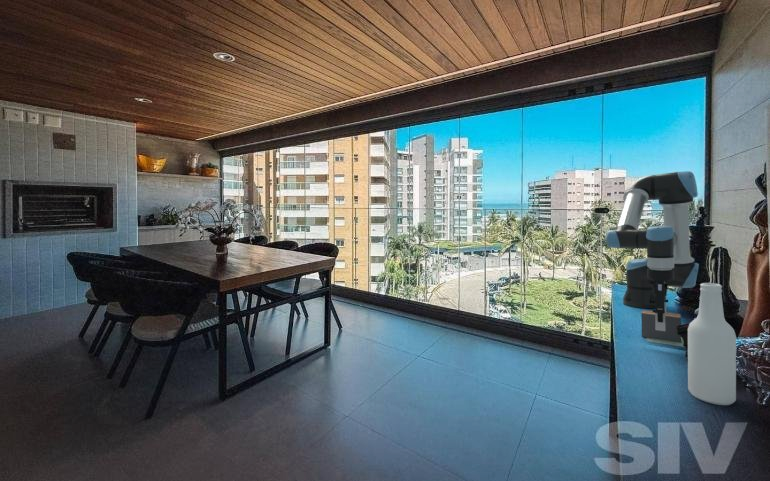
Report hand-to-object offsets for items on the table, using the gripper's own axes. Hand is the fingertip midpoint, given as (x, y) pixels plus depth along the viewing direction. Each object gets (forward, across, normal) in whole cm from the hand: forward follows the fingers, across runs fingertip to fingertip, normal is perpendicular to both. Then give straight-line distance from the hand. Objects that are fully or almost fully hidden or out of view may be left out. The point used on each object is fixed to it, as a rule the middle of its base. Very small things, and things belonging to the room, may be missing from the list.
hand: (661, 324), depth 120 cm
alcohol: (+6, +38, +11) cm, 40 cm away
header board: (+6, -4, +2) cm, 7 cm away
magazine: (+6, +16, +11) cm, 20 cm away
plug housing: (+5, 0, 0) cm, 5 cm away
